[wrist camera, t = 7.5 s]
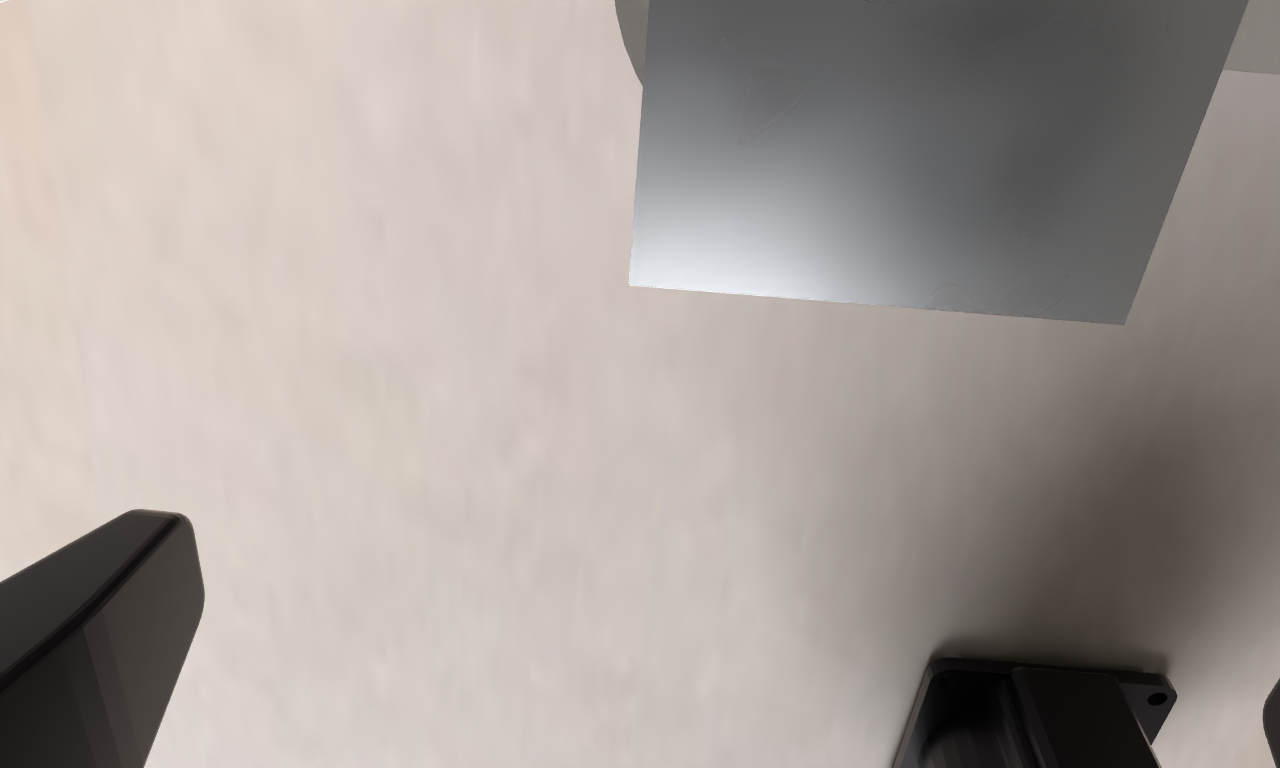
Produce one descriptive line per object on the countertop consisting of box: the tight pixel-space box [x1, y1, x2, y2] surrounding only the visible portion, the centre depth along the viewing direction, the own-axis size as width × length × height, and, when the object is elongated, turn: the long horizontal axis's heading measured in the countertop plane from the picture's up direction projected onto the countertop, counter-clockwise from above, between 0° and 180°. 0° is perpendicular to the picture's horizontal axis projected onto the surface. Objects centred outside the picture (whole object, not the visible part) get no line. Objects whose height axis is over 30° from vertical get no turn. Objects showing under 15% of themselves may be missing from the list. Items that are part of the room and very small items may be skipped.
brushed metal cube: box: [629, 0, 1249, 325], centre depth 12 cm, size 6×6×5 cm
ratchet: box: [615, 0, 1280, 86], centre depth 14 cm, size 20×7×6 cm, turn 86°
